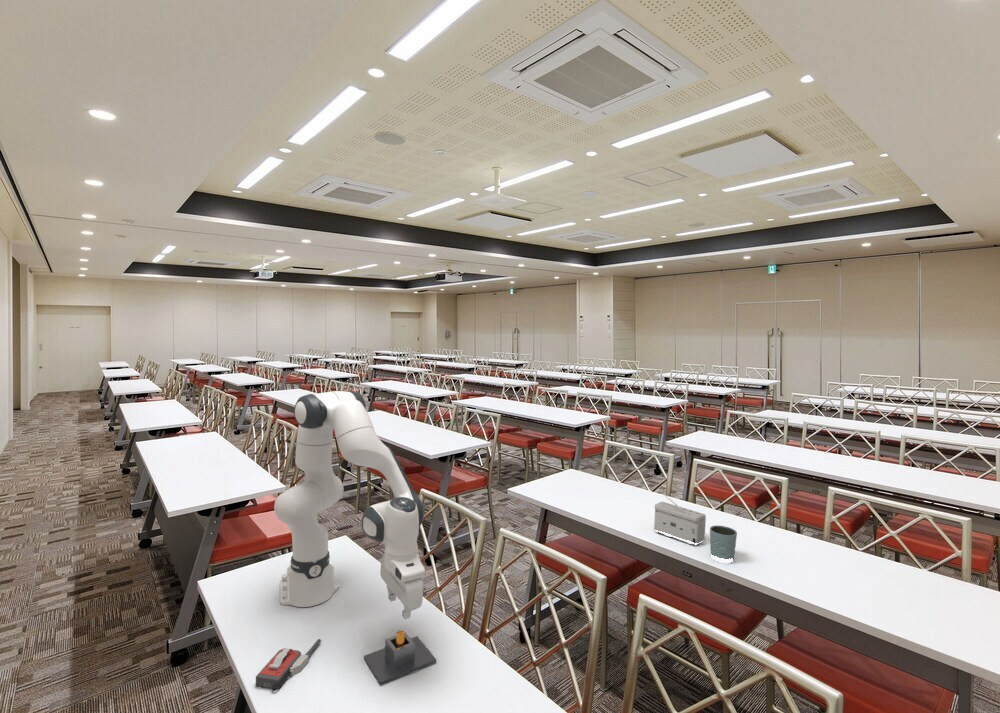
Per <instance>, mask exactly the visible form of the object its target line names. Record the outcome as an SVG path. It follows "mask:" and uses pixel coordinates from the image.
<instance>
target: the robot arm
mask: <svg viewBox="0 0 1000 713" xmlns="http://www.w3.org/2000/svg"><path fill="white" fill-rule="evenodd" d="M366 409H367V408H366V402H365V399H364V397H363V395H362V394H361V393H360V392H357V391H354V390H353V391H352V390H346V391H345V390H343V391H341V390H333V391H332V390H330V391H327V392H319V393H308V394H305V395H302V396H300V397H298V399H297V401H296V403H295V405H294V409H293V410H294V411H293V414H294V419H295V421H296V423H297V424H298V427H297V428H298V429H297V433H296V434H297V435H296V444H295V445H296V446H295V461H294V462H295V465H296V467H297V468H298V469H299V470H301V471H303V472H304V476H305V477H304V481H303V482H302V483H300V484H299V483H298V484H297V485H295V486H292V487H290V488H288V489H286V490H284V491H283V492H282V493H281V494H279V495H278V496H276V498H275V499H274V500H275V501H274V505H273V510H274V513H275V516H276V518H277V519H278V520H279V521H281V522H282V523H284V524H285V525H286V526H288V528H289V530H290V533H291V539H292V540H291V542H292V544H291V545H292V555H291V557H290V558H291V559H290V565H289V566H288V567H287V568H286V574H281V579H280V581H279V604H280V605H282V606H293V607H297V608H298V607H299V608H308V607H313V606H317V605H320V604H323V603H325V602H327V601H328V600H330V598H331V597H332V596H333V594H334V593H335V592H336V591H338V590H339V589H340V587H339V586H340V585H339V583H337V582H336V581H335V568H334V566H333V565H332V564H331V563H330V560H331V558H330V557H331V555H330V551H329V531H328V528H327V527H326V526H325V525H323V524H322V523H319V520H318V515H319V513H320V512H323V511H324V510H326V509H329V508H331V507H332V506H334V505H335V504H336V503H338V501H339V500H341V499H342V498H343V494H344V490H345V489H344V484H343V482H342V480H341V479H340V478H339V477H338V476H337V475H336V474H335V473H334V470H333V466H332V465H333V464H332V456H333V455H332V454H333V453H332V452H333V442H334V441H333V438H334V437H333V436H334V435H335V438H336V442H337V446H338V449H339V452H340V454H341V456H342V457H343V459H344V460H345V461H347V462H349V463H351V464H352V465H355V466H359V467H366V468H371V469H373V470H377V471H379V472H380V473H381V474H382V475H383V476H384V477H385V479H386V482H387V483H388V485H389V487H390V489H391V491H392V494H393V495H394V497H393V498H392V499H390V500H386V501H382V502H381V501H380V502H378V503H375V504H372V505H370V506H367V507H366V508H365V510H364V512H363V515H362V518H361V529H362V531H363V534H364V535H365V536H366V537H368V538H369V539H370V540H372V541H375V542H378V543H384V554H383V555H382V556H381V562H380V573H379V574H380V576H381V577H380V578H381V579H382V581H384V583H385V585H386V588H387V593H388V597H387V598H388V600H389V601H390V602H391V603H392V602H395V601H397V599H398V601H400V603H401V604H402V605H403V608H404V610H402V612H401V613H402V614H401V616H402V618H403V619H404V620H408V619H411V617H412V616H411V615H412V614H411V613H412V611H414V610H415V611H416V610H418V609H420V608H421V607H422V605H423V599H424V579H423V577H425V575H426V569H425V566H424V565H423V563H422V561H421V558H420V555H419V553H418V552H419V544H418V537H419V530H420V526H421V525H422V524H423V521H424V518H425V513H426V511H425V505H424V503H423V502H422V500H421V499H420V497H419V496H418V494H417V493H416V492H415V490H414V489H413V487H412V485H411V483H410V481H409V478H408V477H407V475H406V473H405V471H404V469H403V467H402V465H401V463H400V461H399V460H398V457H397V456H396V454H395V453H394V451H393V450H392V449H391V447H389V446H387V445H386V444H384V443H383V442H382V440H381V439H380V437H379V436H378V434H377V432H376V430H375V428H374V424H373V423H372V420H371V417H370V416H369V414H368V411H367V410H366ZM333 433H334V434H333Z"/></svg>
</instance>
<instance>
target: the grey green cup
mask: <svg viewBox="0 0 1000 713" xmlns="http://www.w3.org/2000/svg"><path fill="white" fill-rule="evenodd" d="M737 536H738V532H737V531H736V529H734V528H732V527H730V526H729V527H728V526H726V525H725V526H724V525H712V526H710V527H709V543H710V548H709V549H710V555H711V554H712V555H714V556H717V557H719V558H724V559H729V558H730V559H731V558H734V559H735V552H736V550H735V549H736V547H737V546H736V544H737V538H738V537H737Z"/></svg>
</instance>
